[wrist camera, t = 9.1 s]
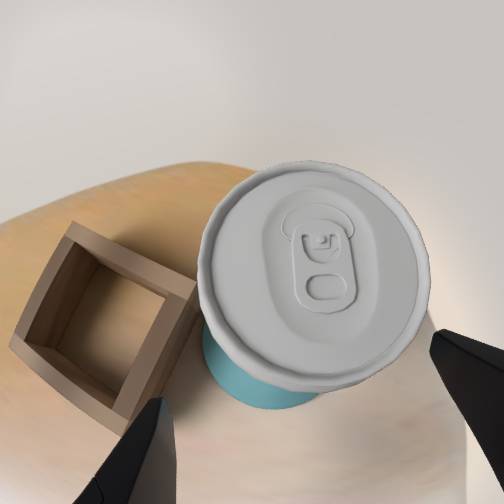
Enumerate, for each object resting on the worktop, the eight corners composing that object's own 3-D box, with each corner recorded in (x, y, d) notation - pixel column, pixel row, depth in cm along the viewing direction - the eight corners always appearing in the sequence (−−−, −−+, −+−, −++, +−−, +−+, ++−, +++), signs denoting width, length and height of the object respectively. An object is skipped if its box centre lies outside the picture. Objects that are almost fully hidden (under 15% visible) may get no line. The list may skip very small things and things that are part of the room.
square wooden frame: (206, 299, 18) (197, 281, 15) (144, 427, 15) (121, 437, 12) (96, 244, 19) (72, 220, 16) (40, 354, 16) (8, 346, 13)
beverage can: (315, 296, 18) (405, 160, 7) (320, 380, 16) (452, 373, 5) (230, 299, 17) (197, 157, 6) (231, 385, 16) (186, 400, 5)
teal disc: (360, 302, 18) (363, 300, 17) (311, 428, 15) (313, 429, 15) (239, 252, 19) (239, 248, 19) (180, 372, 16) (178, 372, 16)
